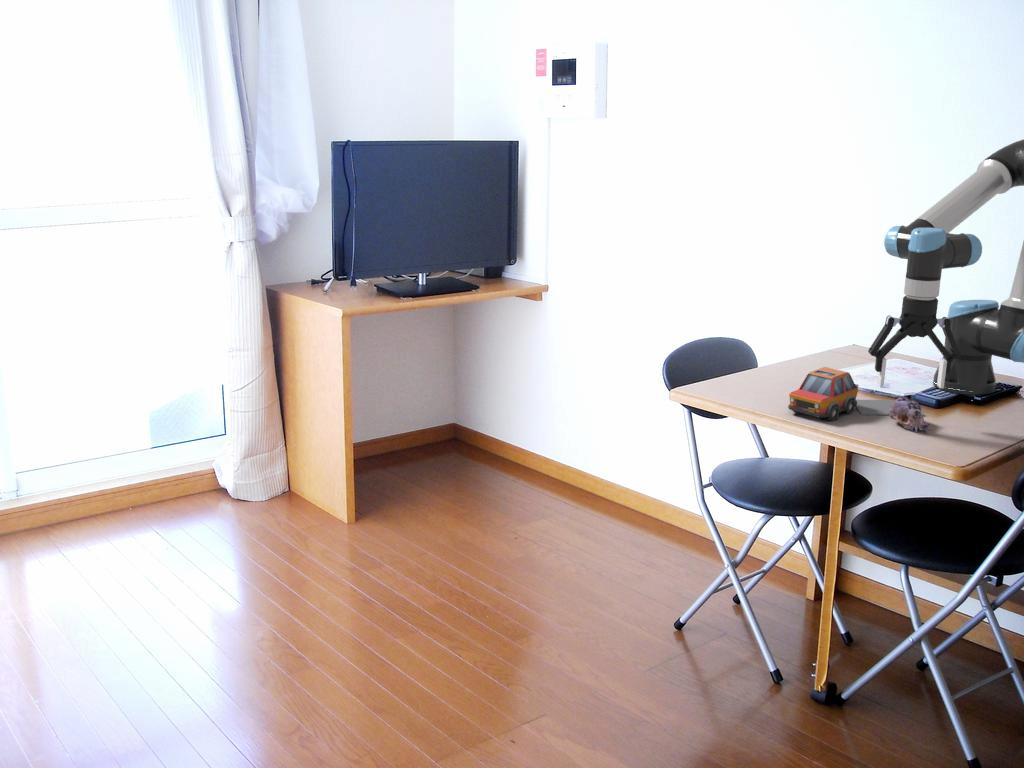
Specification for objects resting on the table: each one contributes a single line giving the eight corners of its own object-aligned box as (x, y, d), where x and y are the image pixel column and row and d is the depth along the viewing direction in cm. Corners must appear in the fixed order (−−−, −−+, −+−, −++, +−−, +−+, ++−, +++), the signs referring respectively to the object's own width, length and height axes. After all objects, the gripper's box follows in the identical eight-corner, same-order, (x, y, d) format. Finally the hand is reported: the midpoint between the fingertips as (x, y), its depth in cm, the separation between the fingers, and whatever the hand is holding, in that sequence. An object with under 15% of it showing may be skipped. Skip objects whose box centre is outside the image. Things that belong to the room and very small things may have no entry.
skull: (936, 435, 241) (939, 410, 239) (903, 435, 241) (906, 410, 239) (914, 418, 253) (917, 394, 251) (883, 419, 252) (886, 394, 251)
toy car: (782, 414, 257) (785, 375, 254) (821, 399, 267) (824, 362, 264) (823, 425, 248) (827, 385, 245) (861, 410, 259) (865, 371, 256)
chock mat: (911, 401, 265) (912, 400, 264) (925, 416, 254) (925, 414, 253) (851, 400, 266) (851, 399, 266) (861, 415, 255) (861, 413, 255)
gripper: (971, 294, 241) (960, 382, 247) (861, 292, 243) (852, 379, 249) (983, 301, 234) (970, 392, 240) (868, 298, 236) (859, 388, 242)
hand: (910, 386), depth 245 cm, fingers open, 13 cm apart
